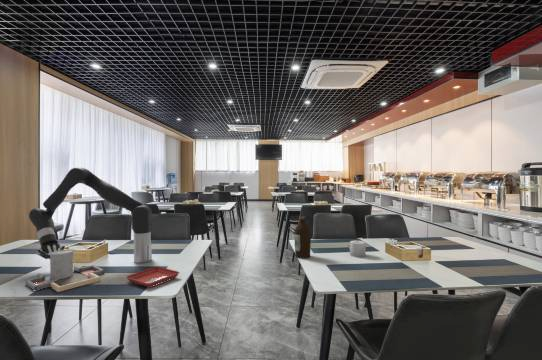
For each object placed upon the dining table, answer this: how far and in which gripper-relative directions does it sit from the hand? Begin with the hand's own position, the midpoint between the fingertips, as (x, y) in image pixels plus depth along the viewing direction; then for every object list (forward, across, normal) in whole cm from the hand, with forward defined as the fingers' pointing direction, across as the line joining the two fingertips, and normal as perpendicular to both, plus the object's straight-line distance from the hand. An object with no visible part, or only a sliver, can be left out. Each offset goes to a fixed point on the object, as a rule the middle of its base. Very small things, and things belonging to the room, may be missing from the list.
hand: (55, 263), depth 155 cm
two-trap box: (+16, 0, -10) cm, 19 cm away
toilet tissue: (+85, +129, -78) cm, 173 cm away
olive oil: (+67, +104, -60) cm, 138 cm away
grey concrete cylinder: (+10, 0, -3) cm, 11 cm away
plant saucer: (+41, +25, -34) cm, 59 cm away
